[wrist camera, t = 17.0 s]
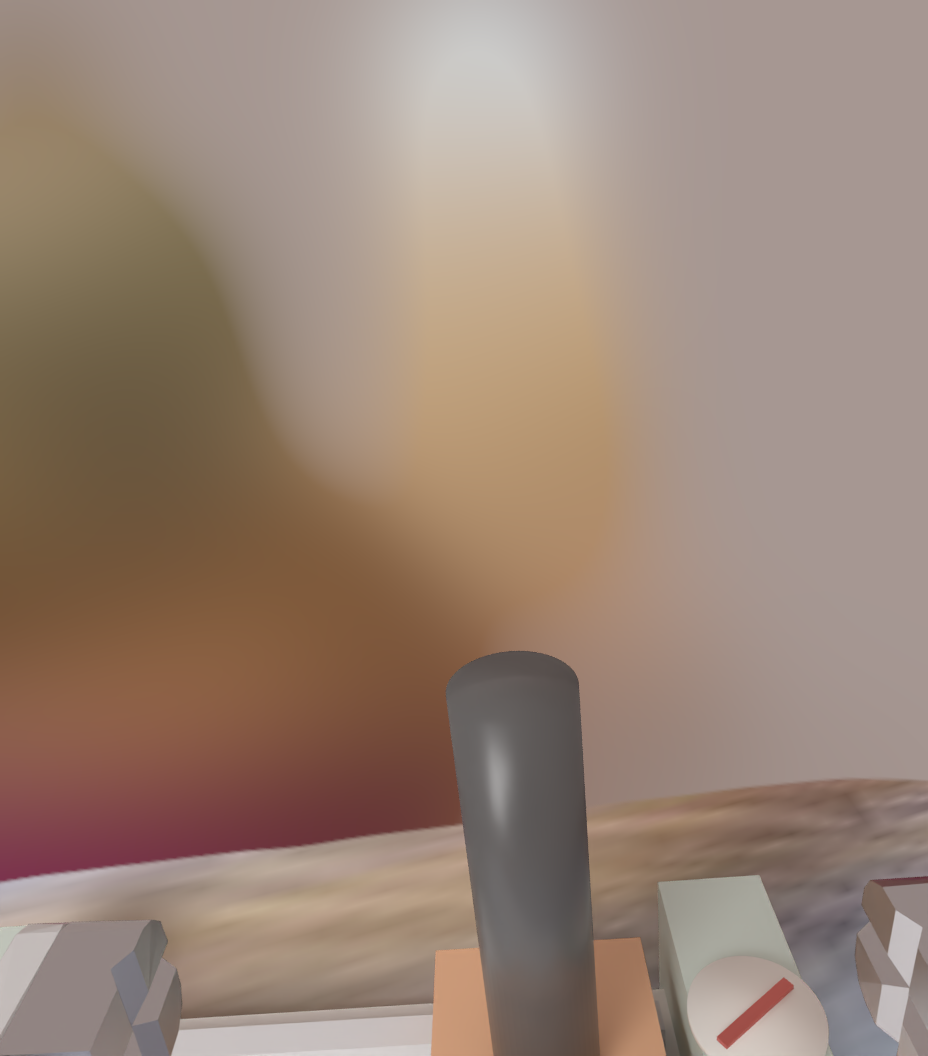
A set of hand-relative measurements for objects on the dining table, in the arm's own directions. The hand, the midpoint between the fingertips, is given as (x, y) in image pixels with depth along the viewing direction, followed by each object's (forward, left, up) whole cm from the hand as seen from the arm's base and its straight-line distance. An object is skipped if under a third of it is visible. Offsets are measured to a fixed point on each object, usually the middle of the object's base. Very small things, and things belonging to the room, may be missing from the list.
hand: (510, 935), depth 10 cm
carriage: (-6, +10, -22) cm, 25 cm away
